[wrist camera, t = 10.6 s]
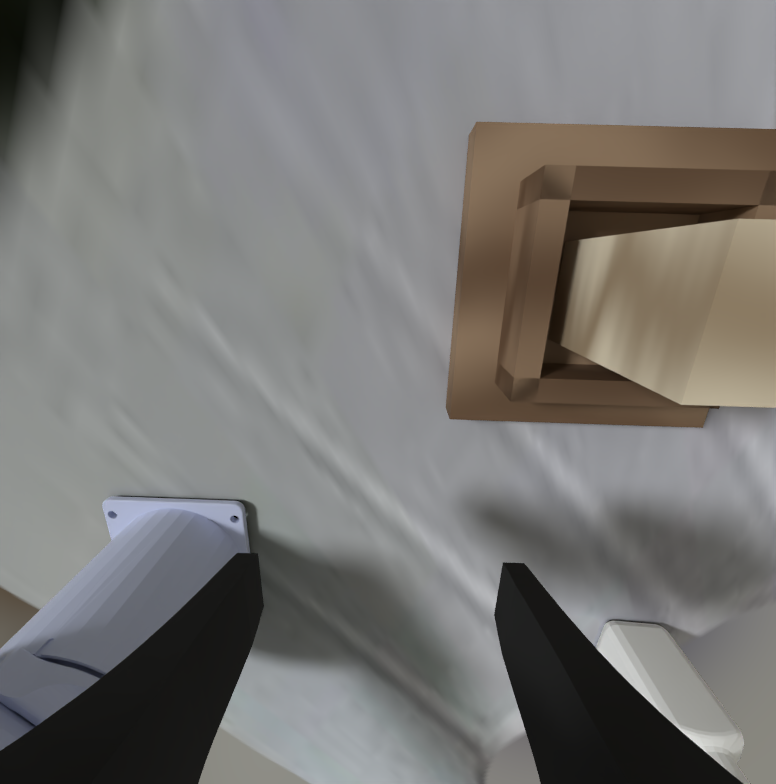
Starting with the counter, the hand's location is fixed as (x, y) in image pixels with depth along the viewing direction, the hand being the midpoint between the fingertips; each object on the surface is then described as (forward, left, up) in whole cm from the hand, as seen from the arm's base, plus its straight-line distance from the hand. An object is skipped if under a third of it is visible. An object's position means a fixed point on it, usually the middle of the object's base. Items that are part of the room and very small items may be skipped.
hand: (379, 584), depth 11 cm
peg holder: (+8, -9, -9) cm, 15 cm away
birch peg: (+8, -9, -8) cm, 14 cm away
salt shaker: (-14, -16, -10) cm, 23 cm away
